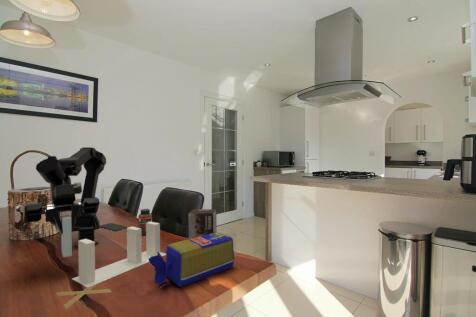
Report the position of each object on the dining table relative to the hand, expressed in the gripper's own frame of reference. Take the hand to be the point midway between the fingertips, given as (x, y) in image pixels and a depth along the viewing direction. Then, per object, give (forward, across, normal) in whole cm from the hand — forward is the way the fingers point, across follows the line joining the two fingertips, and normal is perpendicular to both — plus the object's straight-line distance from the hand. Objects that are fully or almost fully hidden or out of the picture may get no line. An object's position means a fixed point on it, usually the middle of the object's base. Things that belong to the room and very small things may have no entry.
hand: (66, 232), depth 73 cm
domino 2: (+14, +4, +4) cm, 15 cm away
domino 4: (+9, +25, +9) cm, 29 cm away
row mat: (+12, +15, +7) cm, 20 cm away
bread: (+26, +30, -6) cm, 40 cm away
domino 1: (+4, 0, +6) cm, 7 cm away
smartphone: (-24, +25, +45) cm, 57 cm away
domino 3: (+11, +18, +7) cm, 22 cm away
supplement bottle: (-10, +33, +30) cm, 45 cm away
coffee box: (+18, +39, +1) cm, 43 cm away
